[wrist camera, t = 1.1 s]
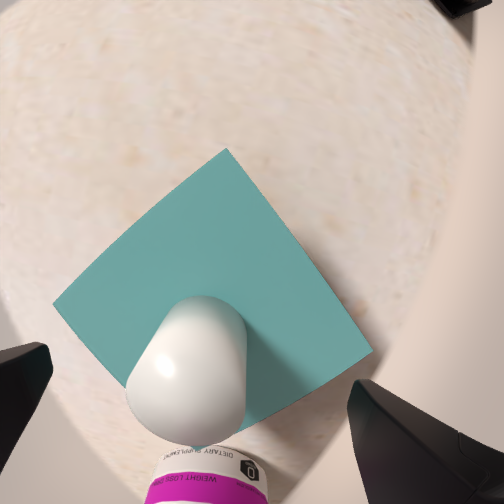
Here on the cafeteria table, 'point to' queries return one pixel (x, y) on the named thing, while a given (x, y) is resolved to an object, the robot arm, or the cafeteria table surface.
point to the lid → (211, 311)
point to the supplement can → (207, 478)
